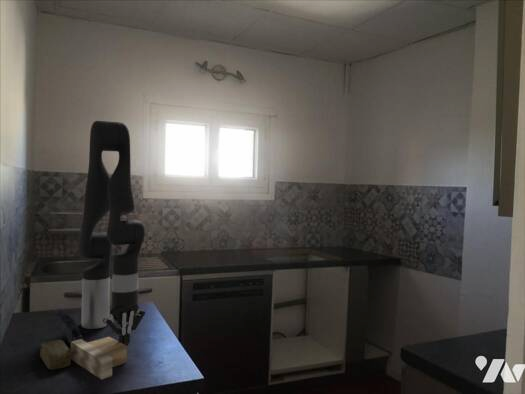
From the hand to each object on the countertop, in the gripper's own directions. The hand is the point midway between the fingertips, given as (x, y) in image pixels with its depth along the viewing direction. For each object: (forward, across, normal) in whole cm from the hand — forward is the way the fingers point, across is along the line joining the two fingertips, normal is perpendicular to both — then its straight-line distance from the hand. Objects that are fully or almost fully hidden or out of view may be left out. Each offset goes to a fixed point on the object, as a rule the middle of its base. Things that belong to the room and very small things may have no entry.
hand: (124, 345), depth 120 cm
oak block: (+3, +5, -1) cm, 6 cm away
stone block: (+3, +16, -10) cm, 19 cm away
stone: (+3, +7, -20) cm, 21 cm away
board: (+3, +10, 0) cm, 11 cm away
